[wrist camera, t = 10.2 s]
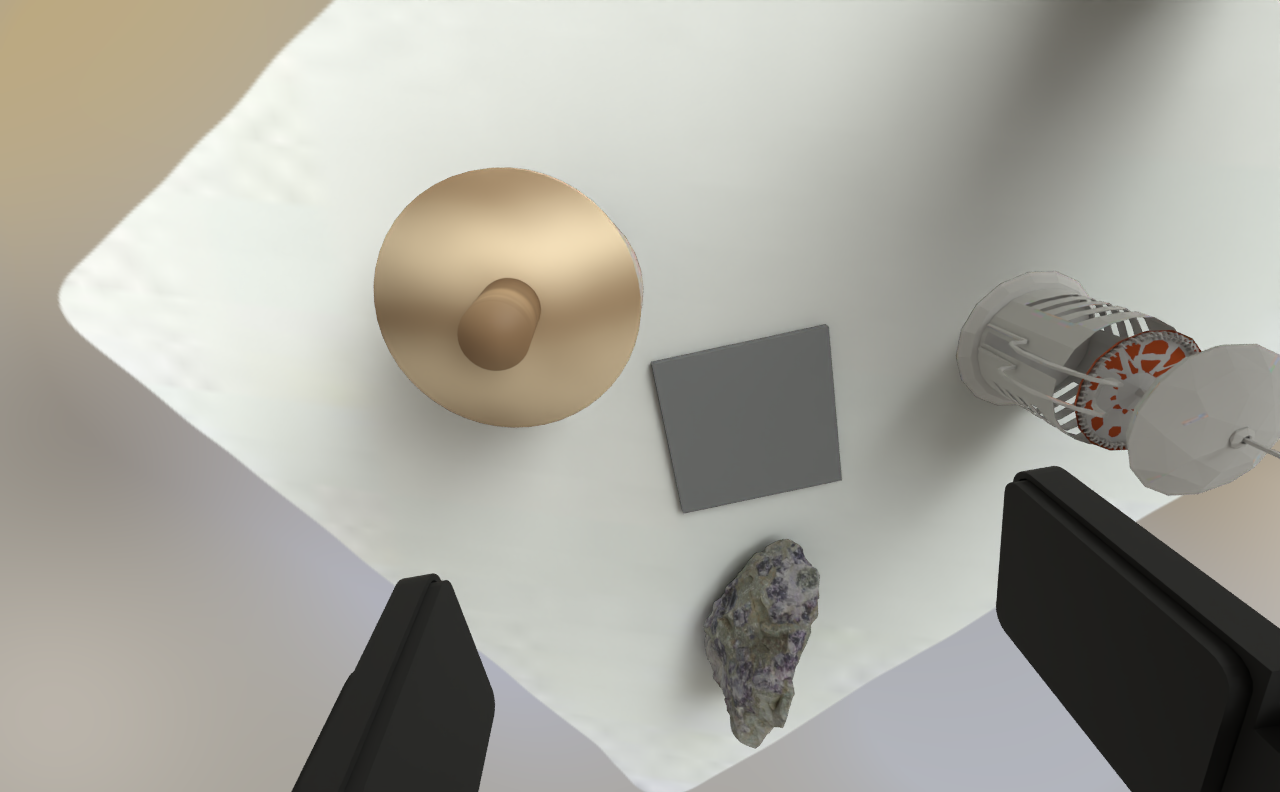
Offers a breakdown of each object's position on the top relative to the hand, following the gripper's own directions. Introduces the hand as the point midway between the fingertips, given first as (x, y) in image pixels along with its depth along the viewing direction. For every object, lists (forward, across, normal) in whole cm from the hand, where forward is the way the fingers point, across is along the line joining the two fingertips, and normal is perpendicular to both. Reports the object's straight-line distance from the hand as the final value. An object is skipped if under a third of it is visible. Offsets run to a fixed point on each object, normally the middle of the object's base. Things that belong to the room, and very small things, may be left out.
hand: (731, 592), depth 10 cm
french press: (+31, -24, +10) cm, 41 cm away
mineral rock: (+31, -4, +29) cm, 43 cm away
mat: (+30, -5, +13) cm, 33 cm away
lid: (+20, +7, -1) cm, 21 cm away
